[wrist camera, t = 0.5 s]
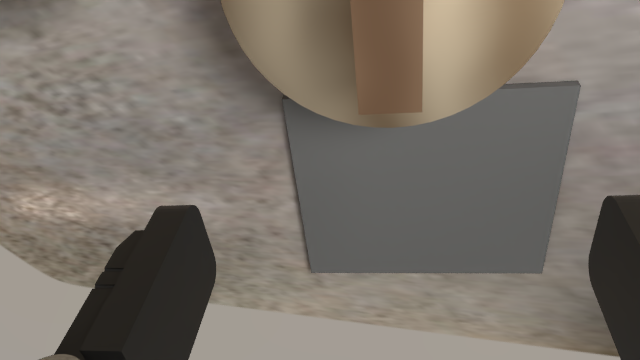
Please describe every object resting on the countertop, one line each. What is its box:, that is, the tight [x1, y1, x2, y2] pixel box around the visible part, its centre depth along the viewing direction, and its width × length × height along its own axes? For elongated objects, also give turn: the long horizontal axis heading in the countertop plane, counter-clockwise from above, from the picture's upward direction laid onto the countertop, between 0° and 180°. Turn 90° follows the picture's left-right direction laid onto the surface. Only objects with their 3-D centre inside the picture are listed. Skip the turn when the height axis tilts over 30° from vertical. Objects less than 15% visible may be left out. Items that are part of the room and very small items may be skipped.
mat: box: [282, 81, 581, 273], centre depth 37 cm, size 18×16×1 cm
